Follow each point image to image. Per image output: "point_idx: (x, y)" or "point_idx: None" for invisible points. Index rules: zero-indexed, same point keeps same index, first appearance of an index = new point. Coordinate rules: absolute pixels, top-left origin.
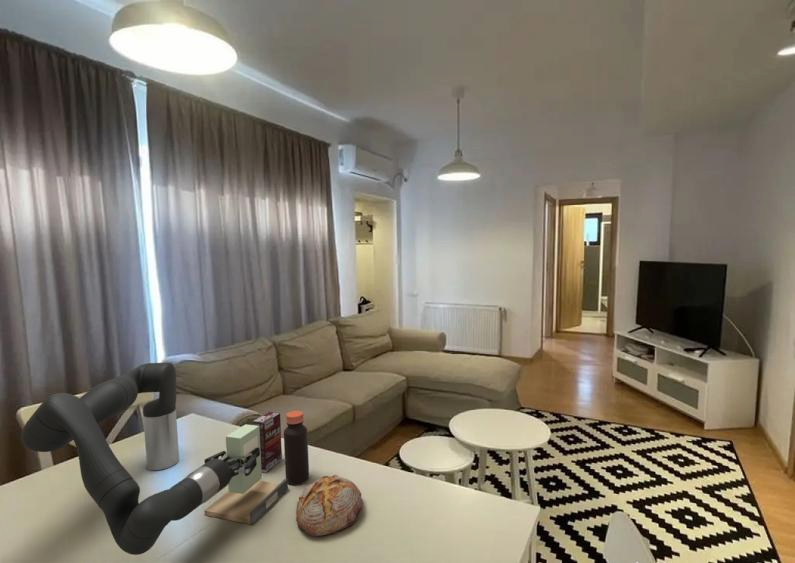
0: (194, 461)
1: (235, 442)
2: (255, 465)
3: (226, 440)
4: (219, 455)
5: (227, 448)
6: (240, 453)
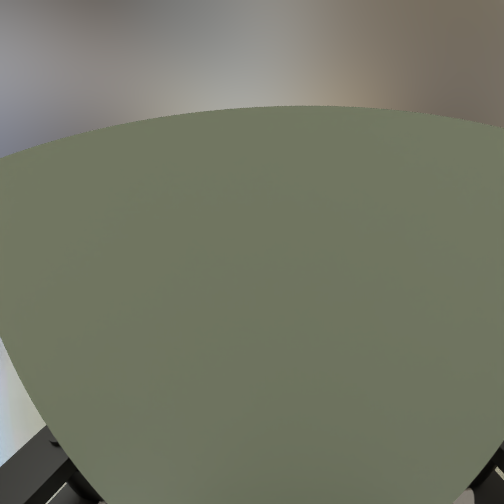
0: (11, 362)
1: (419, 351)
2: (497, 479)
3: (3, 316)
4: (37, 498)
5: (110, 484)
6: (452, 499)
